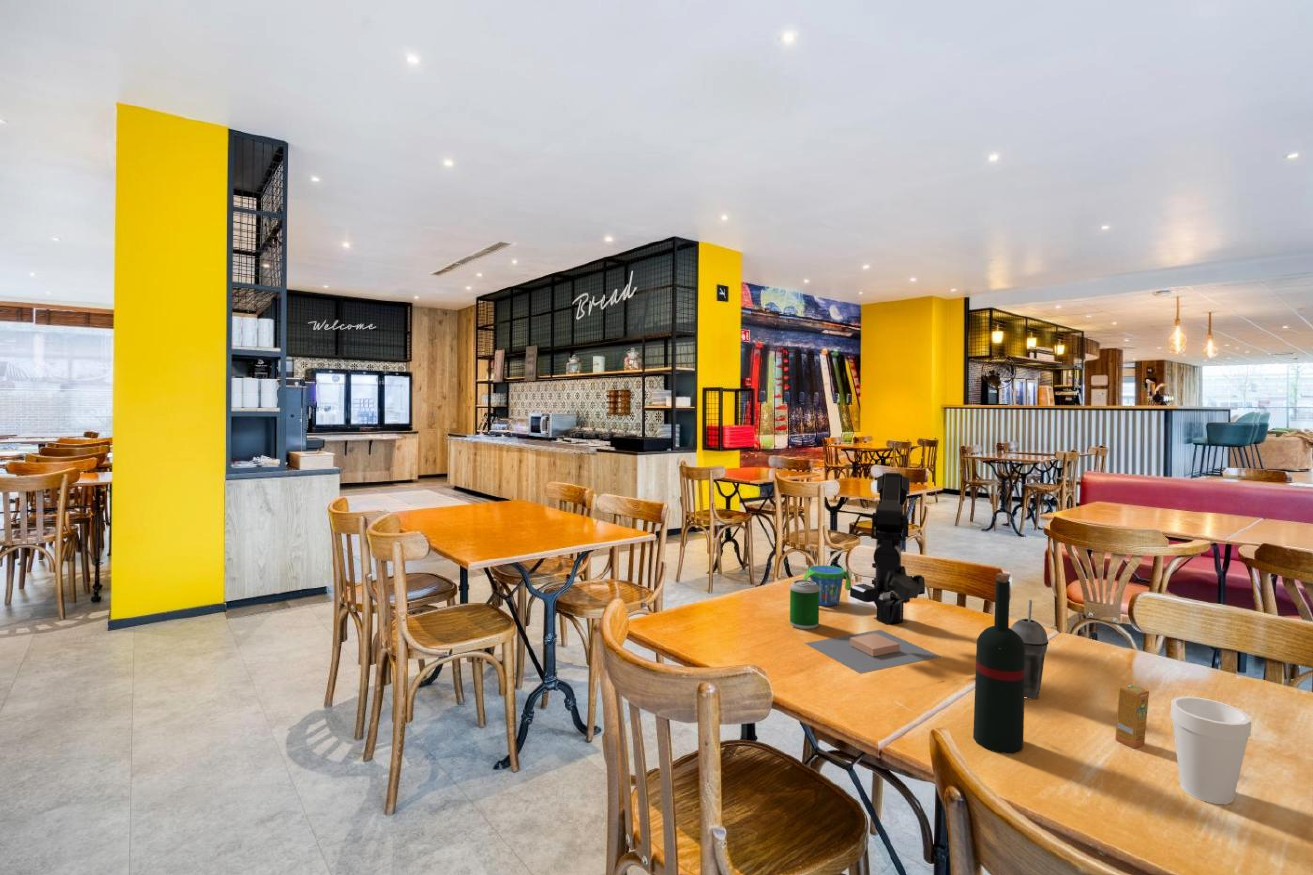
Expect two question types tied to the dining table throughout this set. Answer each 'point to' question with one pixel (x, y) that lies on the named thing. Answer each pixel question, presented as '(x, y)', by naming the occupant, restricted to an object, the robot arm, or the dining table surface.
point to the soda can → (804, 604)
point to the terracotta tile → (874, 644)
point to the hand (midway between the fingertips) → (887, 624)
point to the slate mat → (867, 663)
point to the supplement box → (1132, 715)
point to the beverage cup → (1032, 652)
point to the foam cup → (1209, 747)
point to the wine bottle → (1000, 680)
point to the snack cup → (828, 583)
